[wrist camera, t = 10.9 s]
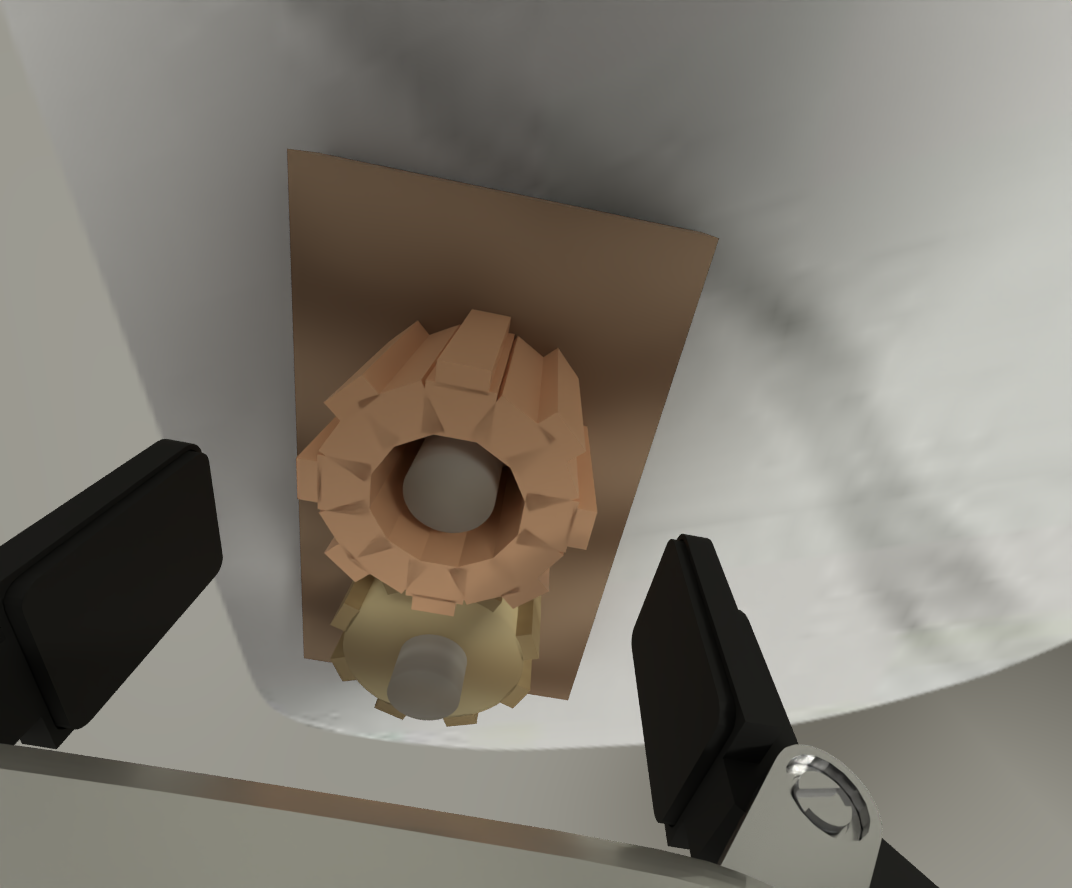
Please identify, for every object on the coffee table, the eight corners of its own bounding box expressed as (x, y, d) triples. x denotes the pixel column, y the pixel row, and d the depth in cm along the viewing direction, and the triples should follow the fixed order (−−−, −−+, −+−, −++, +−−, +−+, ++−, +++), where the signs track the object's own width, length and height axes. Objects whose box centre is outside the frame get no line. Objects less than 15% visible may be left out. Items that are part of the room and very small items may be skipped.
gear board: (318, 152, 15) (175, 134, 10) (701, 232, 16) (781, 260, 10) (322, 623, 25) (249, 759, 19) (567, 663, 25) (569, 807, 19)
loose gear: (369, 288, 15) (292, 332, 11) (610, 336, 16) (631, 397, 11) (361, 493, 19) (300, 590, 14) (560, 528, 19) (561, 634, 15)
